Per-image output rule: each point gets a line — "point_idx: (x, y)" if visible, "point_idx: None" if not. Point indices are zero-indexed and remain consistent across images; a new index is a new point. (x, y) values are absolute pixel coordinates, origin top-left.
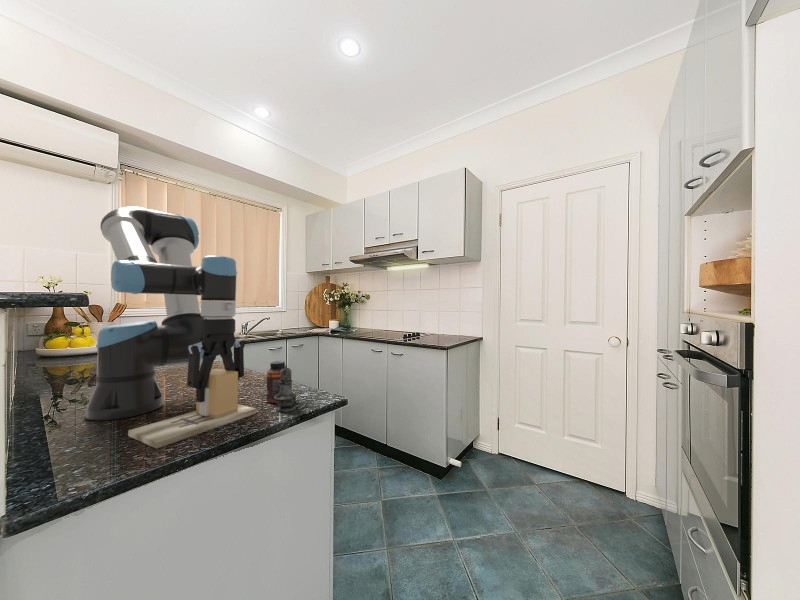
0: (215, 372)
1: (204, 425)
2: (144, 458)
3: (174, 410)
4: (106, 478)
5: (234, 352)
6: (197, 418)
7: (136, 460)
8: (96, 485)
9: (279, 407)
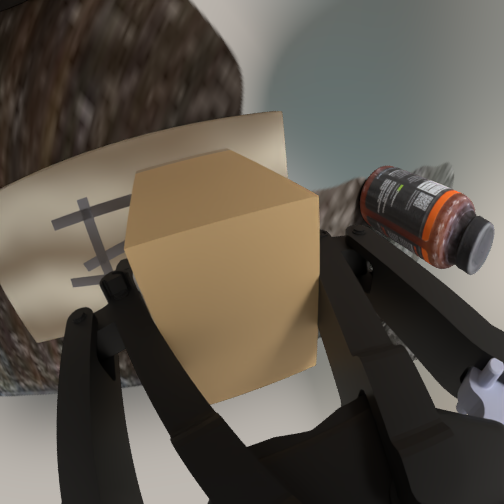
0: (236, 325)
1: None
2: (31, 356)
3: (118, 8)
4: (5, 378)
5: (448, 334)
6: (124, 240)
7: (21, 355)
8: (3, 386)
9: None
